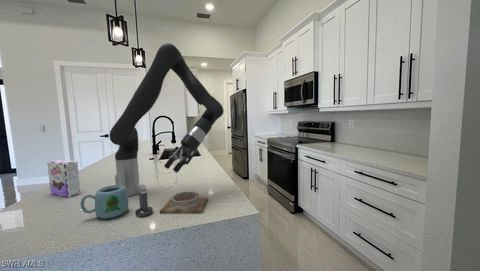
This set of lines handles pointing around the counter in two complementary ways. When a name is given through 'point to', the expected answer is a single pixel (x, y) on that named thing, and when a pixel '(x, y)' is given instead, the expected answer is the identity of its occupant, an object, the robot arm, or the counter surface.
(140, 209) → the grey post on base
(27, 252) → the counter surface
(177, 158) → the robot arm
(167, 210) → the stand
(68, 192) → the candy box
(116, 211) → the mug
